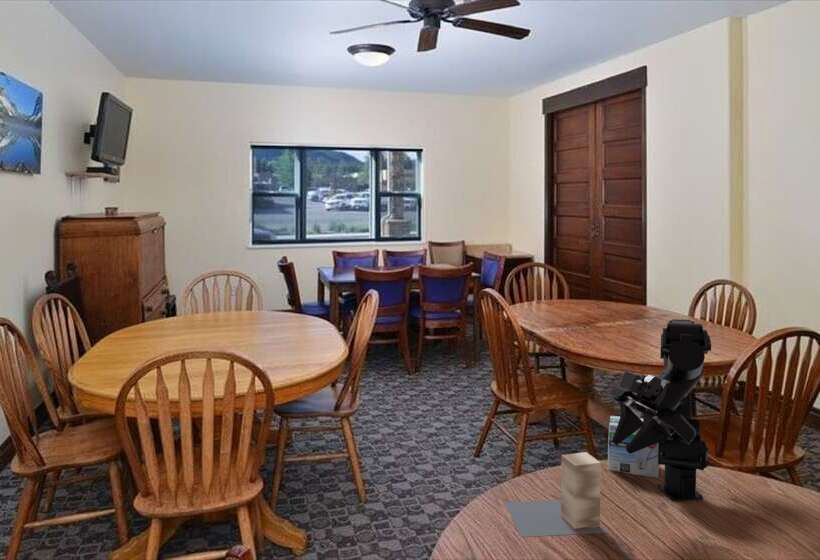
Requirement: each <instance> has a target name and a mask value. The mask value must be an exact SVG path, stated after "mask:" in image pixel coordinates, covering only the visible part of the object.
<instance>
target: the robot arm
mask: <svg viewBox="0 0 820 560" xmlns="http://www.w3.org/2000/svg"><path fill="white" fill-rule="evenodd" d="M711 340H712V339H711V335H709V334H708V331H707V329H704V327H703V324H702V323H695V321H693V320H690V319H678V318H677V319H675V318H673V319H671V320H669V321H668V322H667V323H666V327H663V328H662V333H661V335H660V357H659V358H660V359H661V360H662V359H663V371H662V372H661V373H660V374H659V376H657V375H654V374H653V375H651V374H647V375H646V376H645V377H643V376H640V375H638V374H635V373H633V372H631V371H628V370H626V369H625V370H624V373H623V375H622V378H621V380H620V382H619V384H618V386H614V388H613V389H612V390H611V391H610V392H609V393H608V395H609V397H611V399H613V401H615V402H616V404H617V405H618V406H619V410H620V416H619V417H620V420H619V423H618V426H617V428H616V431H615V434H614V436H613V439H612V442H613V443H614V444H615V445H617V444H619V443H621V442H622V441H624V440H625V439H626V438H628V437H629V436H630V435H632V434H633V433H634V432H636V431H637V430H638V429H640V430H639V431H638V432H637V434H636V435H635V436H634V438H633V439H632V440H631V442H630V443H629V445H628V447H627V448H626V451H627V452H628V453H629V454H631V453H634V452H636V451H639V450H641V449H643V448H646V447H648V446H651V445H653V444H656V443H658V465H659V466H664V483H657V484H656V487H657V488H658V489H659V490H660V491H661V492H662V493H663V494H664V495H665V496H667V498H669V499H670V500H671V501H685V500H686V501H688V500H689V501H690V500H703V498H704V496H703V495H702V494H701V493H700V492H699V491H697V470H699V471H705V469H706V468H708V459H709V450H710V449H709V447H708V446H707V444H706V441H705V439H702V432H701V431H702V430H701V427H700V426H701V425H700V422H699V420H698V419H695V418H692V390H693V389H694V387H695V386H696V385H697V384H698V383H699V381H700V380H701V379H702V377H703V376H704V372H705V371H704V367H703V366H704V362H705V358H706V357H705V355H707V354H708V353H709V351H710V352H711V351H712V341H711ZM642 415H643V418H641V416H642ZM640 418H641V419H643V421H642V420H641V419H640Z"/></svg>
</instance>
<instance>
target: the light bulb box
mask: <svg viewBox="0 0 820 560" xmlns="http://www.w3.org/2000/svg"><path fill="white" fill-rule="evenodd" d="M609 417H610V419H609V425H608V442H607V444H608V445H607V470H608V471H614V472H621V473H624V474H627V475H628V474H629V475H635V476H644V477H652V478H659V475H660V474H659V469H660V468H659V467H660V465H658V443H656V444H653V445H651V446H648V447H646V448H643V449H641V450H639V451H636V452H634V453H631V454H629V453H628V452H627V451H626V448H627V447H628V445H629V443H630V442H631V440H632V439H633V438H634V436H635V435H636V434H637V432H638V431H639V430H640V429H638V430H637V431H636V432H634V433H633V434H632V435H630V436H629V437H628V438H626V439H625V440H624V441H622V442H621V443H619V444H617V445H615V444H614V443H613V442H612V439H613V436H614V434H615V431H616V428H617V426H618V423H619V420H620V416H619V415H618V416H616V415H610V416H609ZM640 419H641V420H642V421H643V418H641V417H640Z"/></svg>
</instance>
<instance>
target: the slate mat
mask: <svg viewBox="0 0 820 560" xmlns="http://www.w3.org/2000/svg"><path fill="white" fill-rule="evenodd" d="M504 504H505V507H506V509H507V511H508V513H509V515H510V517H511V519H512V521H513V523H514V526H515V528H516V529H517V533H518V534H519V537H520V538H533V537H553V536H569V535H570V536H573V535H590V534H607V533H608V531H607V530H606V528H605V527H604V526H603V525H602V523H601V522H600V527H596V528H590V529H583V530H577V531H574V530H573V529H572V528H571V527H570V526H569V525H568V524H567V523H566V522H565V521H564V520H563V519H562V518H561V499H547V500H546V499H544V500H527V501H526V500H522V501H505V502H504Z"/></svg>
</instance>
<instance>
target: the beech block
mask: <svg viewBox="0 0 820 560" xmlns="http://www.w3.org/2000/svg"><path fill="white" fill-rule="evenodd" d="M560 463H561V468H560V470H561V479H560V480H561V481H560V483H561V484H560V485H561V487H560V490H561V491H560V492H561V494H560V495H561V496H560V497H561V498H560V500H561V518H562V519H563V520H564V521H565V522H566V523H567V524H568V525H569V526H570V527H571V528H572V529H573V530H574V531H577V530H583V529H590V528H596V527H600V523H601V479H602V478H601V475H602V474H601V471H602V469H601V468H602V466H601V464H602V463H601V461H599V460H598V459H596V457H594V456H592V455H591V454H590V453H588V452H587V451H585V452H583V451H582V452H576V453H567V454H561V462H560Z"/></svg>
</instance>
